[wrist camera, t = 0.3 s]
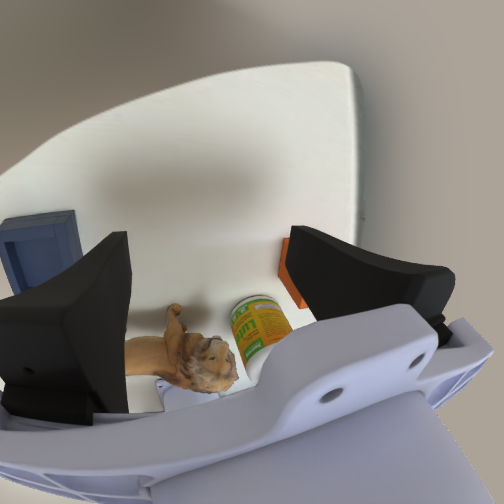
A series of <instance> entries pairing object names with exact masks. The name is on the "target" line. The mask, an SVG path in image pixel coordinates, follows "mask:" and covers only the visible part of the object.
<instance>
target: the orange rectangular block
mask: <svg viewBox="0 0 504 504" xmlns="http://www.w3.org/2000/svg"><path fill="white" fill-rule="evenodd" d="M288 243H289V238H284V242H283V248H282V254H281V260H280V267H279V273H278V277H279V278H280V280H281V281H282V283H283V284H284V286H285V288H286V289H287V291H288V292H289V294H290V296H291V297H292V299H293V300H294V302H295V303H296V305H297V307H298V308H299V309H304V308H309V307H308V306H307V304H306V303H305V301H304V299H303V298H302V296H301V295H300V293H299V292H298V290H297V289H296V287H295V285H294V284H293V282H292V280H291V278H290V276H289V274H288V271H287V269H286V267H285V259H286V254H287V249H288Z"/></svg>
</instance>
